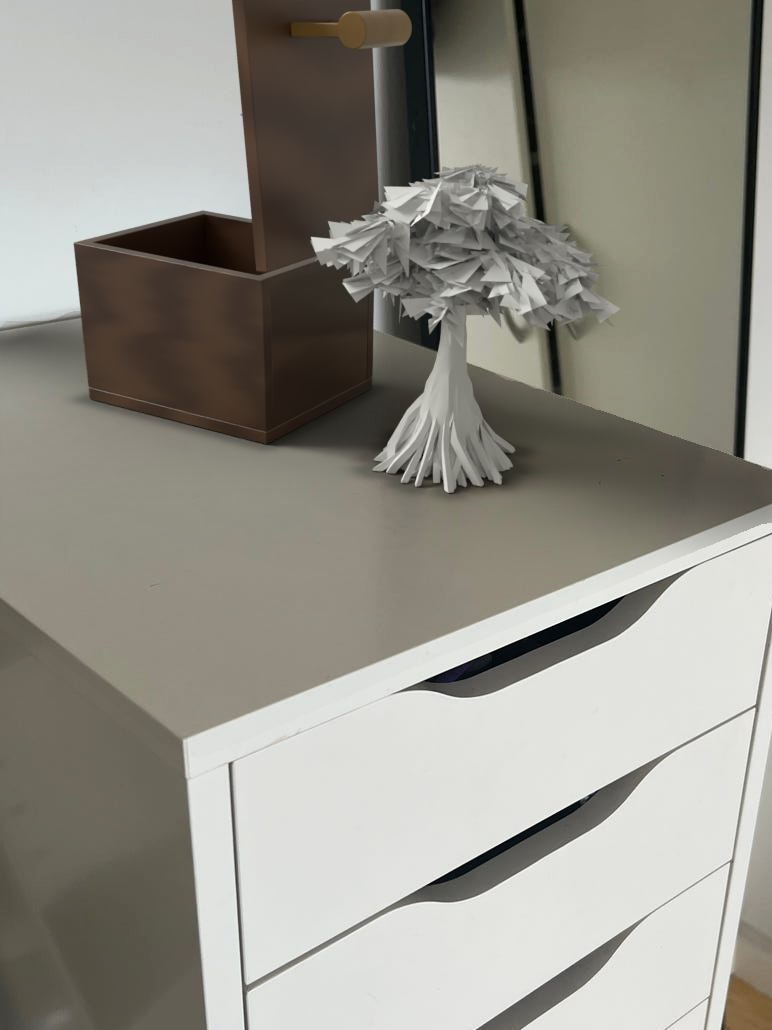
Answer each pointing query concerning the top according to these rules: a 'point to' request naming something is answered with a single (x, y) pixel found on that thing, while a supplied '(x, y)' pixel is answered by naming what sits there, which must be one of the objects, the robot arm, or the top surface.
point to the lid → (309, 116)
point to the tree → (460, 300)
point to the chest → (218, 328)
